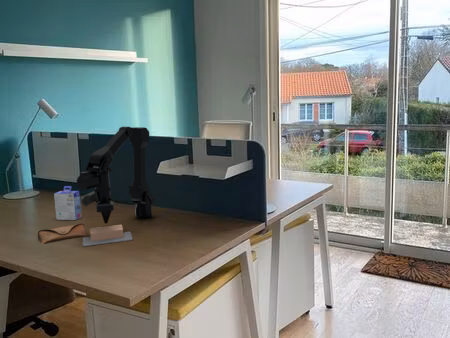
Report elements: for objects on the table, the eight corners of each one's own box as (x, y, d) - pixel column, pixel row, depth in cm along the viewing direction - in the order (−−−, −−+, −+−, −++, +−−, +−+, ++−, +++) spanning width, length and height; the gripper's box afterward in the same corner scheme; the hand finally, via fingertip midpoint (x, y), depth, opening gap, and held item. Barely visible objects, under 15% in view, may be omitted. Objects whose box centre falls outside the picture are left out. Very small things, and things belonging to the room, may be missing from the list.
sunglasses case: (40, 244, 166) (37, 227, 168) (39, 249, 172) (36, 232, 174) (89, 235, 174) (86, 219, 176) (87, 240, 180) (84, 224, 182)
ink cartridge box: (82, 216, 201) (79, 185, 199) (76, 220, 196) (73, 188, 193) (62, 216, 203) (59, 185, 201) (56, 220, 198) (52, 188, 195)
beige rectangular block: (121, 224, 176) (123, 229, 170) (122, 231, 177) (123, 237, 170) (90, 228, 173) (90, 233, 166) (90, 235, 173) (91, 241, 167)
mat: (130, 232, 177) (130, 231, 177) (132, 240, 167) (132, 239, 167) (83, 238, 172) (82, 237, 172) (82, 246, 162) (82, 246, 162)
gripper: (81, 182, 180) (84, 219, 183) (80, 192, 163) (84, 233, 166) (109, 179, 183) (112, 216, 186) (111, 189, 166) (115, 229, 169)
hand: (106, 223), depth 177 cm, fingers closed
